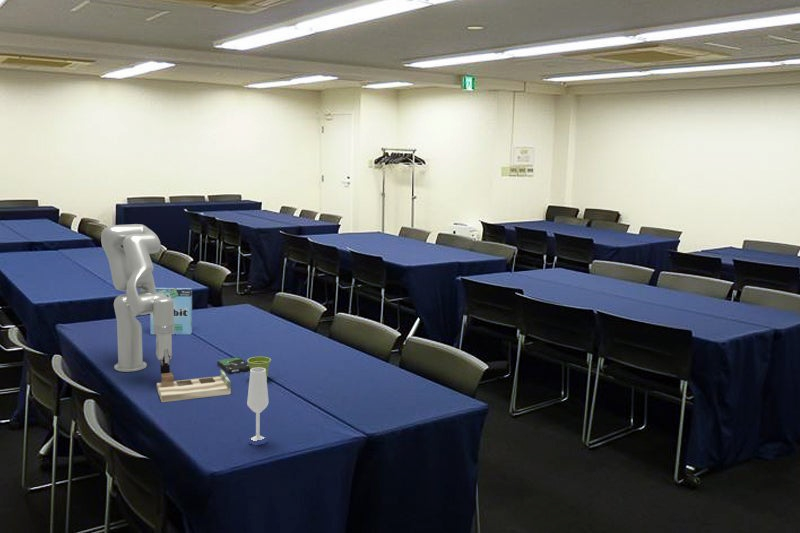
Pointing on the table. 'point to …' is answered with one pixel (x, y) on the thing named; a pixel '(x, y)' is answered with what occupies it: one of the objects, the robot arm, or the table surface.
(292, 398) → the table surface
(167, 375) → the walnut block
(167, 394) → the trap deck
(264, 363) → the plant pot
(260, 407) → the champagne flute
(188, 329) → the gum box
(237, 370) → the disk drive
